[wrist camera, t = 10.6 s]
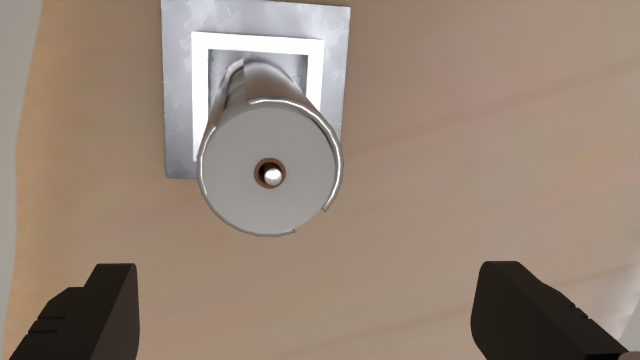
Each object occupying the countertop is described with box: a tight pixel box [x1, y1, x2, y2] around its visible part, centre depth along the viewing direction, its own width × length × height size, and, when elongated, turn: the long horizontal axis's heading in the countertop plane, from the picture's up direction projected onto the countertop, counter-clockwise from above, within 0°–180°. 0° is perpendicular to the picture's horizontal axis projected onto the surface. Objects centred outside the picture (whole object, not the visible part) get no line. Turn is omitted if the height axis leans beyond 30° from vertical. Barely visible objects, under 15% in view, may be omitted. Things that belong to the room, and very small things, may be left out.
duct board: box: [161, 0, 351, 179], centre depth 43 cm, size 16×16×5 cm
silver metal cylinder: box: [196, 56, 344, 237], centre depth 32 cm, size 6×6×25 cm
